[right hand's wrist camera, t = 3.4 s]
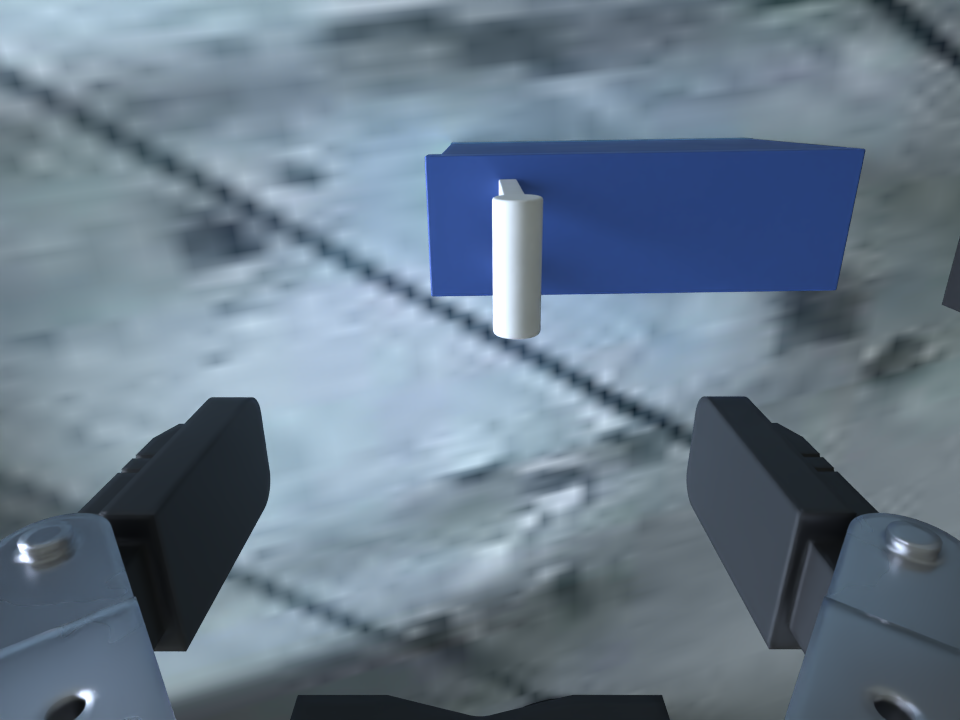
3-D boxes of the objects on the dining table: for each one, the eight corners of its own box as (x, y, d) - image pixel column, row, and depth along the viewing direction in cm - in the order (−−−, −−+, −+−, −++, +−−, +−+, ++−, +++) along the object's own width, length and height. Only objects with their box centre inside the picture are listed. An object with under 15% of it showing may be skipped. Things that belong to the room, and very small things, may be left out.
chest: (454, 242, 36) (445, 289, 27) (451, 142, 34) (440, 153, 25) (729, 238, 36) (822, 283, 27) (743, 137, 34) (849, 147, 24)
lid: (432, 289, 27) (413, 364, 19) (426, 154, 24) (400, 173, 17) (823, 283, 26) (970, 357, 19) (850, 147, 24) (1029, 163, 16)
